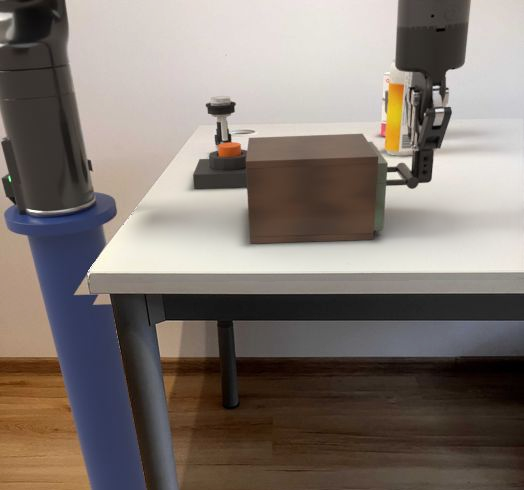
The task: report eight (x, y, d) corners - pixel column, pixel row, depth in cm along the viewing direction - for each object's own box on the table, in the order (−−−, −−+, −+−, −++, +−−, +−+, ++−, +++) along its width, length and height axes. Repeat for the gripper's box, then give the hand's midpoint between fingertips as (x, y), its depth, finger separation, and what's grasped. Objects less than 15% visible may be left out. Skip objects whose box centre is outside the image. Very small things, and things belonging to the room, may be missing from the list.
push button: (243, 158, 107) (240, 99, 102) (215, 161, 106) (210, 101, 101) (234, 151, 113) (231, 94, 107) (207, 154, 111) (202, 96, 106)
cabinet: (359, 207, 81) (362, 133, 76) (373, 239, 70) (378, 156, 65) (252, 210, 81) (248, 137, 76) (249, 243, 70) (245, 161, 65)
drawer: (400, 200, 80) (405, 140, 76) (418, 229, 70) (425, 161, 66) (268, 204, 80) (266, 145, 76) (268, 234, 70) (266, 167, 66)
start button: (217, 159, 92) (217, 147, 91) (219, 154, 95) (218, 142, 94) (240, 158, 92) (240, 146, 91) (241, 153, 95) (241, 141, 94)
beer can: (410, 147, 110) (417, 57, 102) (424, 154, 105) (434, 60, 97) (379, 150, 109) (384, 59, 101) (392, 157, 104) (399, 63, 96)
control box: (194, 189, 91) (191, 162, 89) (200, 172, 100) (198, 147, 98) (265, 186, 91) (264, 159, 89) (265, 170, 100) (264, 145, 98)
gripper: (386, 20, 70) (381, 169, 78) (410, 25, 58) (400, 199, 67) (451, 16, 69) (438, 166, 78) (487, 19, 58) (467, 195, 67)
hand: (421, 181), depth 73 cm, fingers closed
